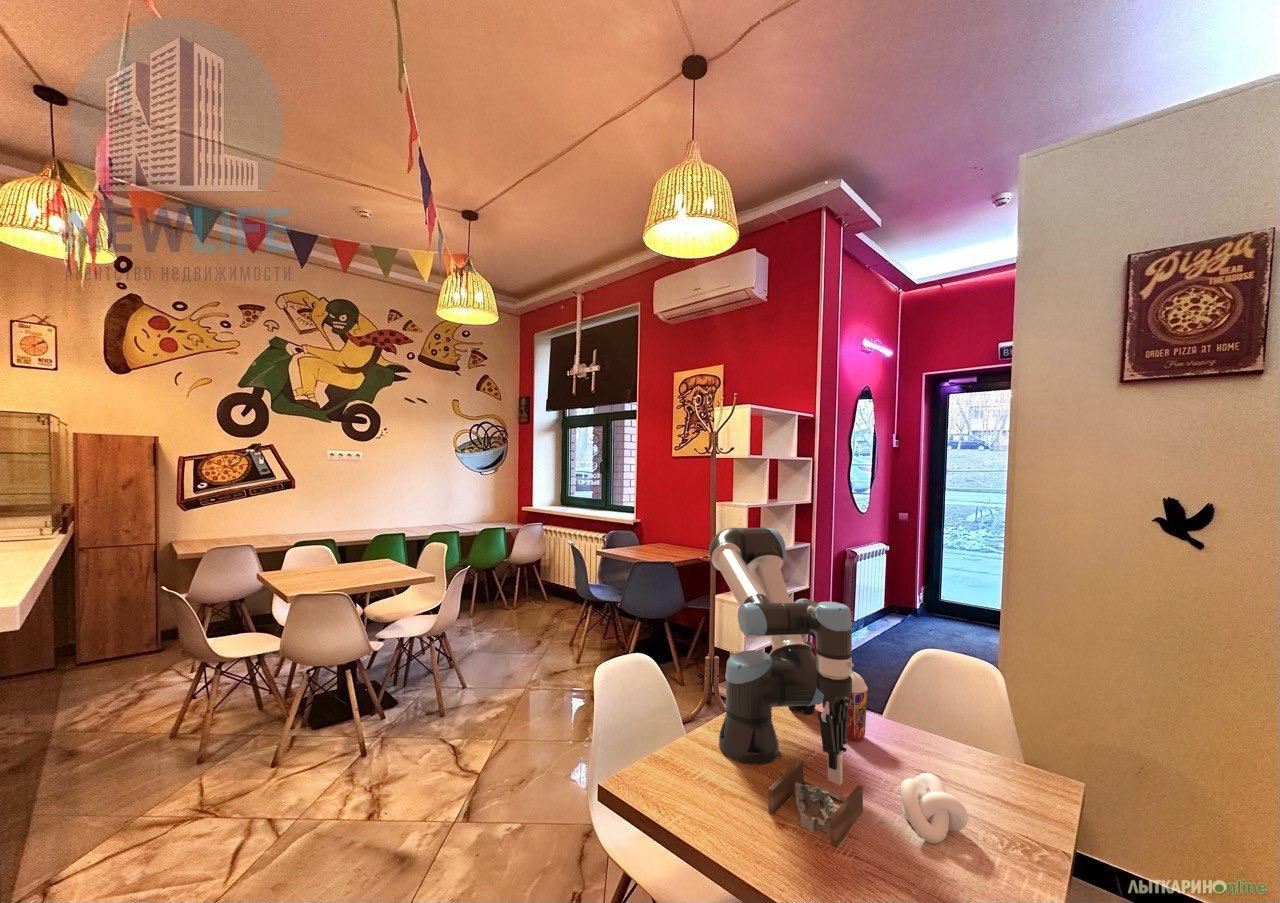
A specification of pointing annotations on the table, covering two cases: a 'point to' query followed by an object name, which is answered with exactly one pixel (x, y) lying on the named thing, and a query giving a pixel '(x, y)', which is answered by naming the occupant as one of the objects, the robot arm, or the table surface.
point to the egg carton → (814, 807)
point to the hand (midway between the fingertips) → (835, 781)
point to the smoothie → (857, 709)
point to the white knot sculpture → (931, 807)
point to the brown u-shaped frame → (850, 805)
